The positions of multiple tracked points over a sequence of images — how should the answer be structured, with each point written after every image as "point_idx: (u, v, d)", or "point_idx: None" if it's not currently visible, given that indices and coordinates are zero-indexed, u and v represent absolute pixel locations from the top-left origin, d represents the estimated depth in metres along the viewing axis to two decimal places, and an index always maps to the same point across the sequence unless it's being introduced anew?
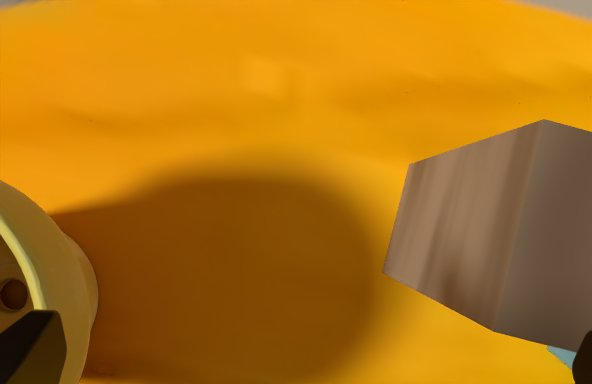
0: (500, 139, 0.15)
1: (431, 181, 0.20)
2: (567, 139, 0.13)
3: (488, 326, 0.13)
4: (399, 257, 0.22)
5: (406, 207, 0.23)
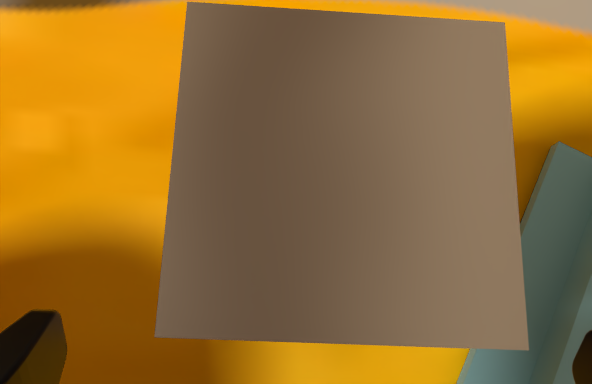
0: None
1: None
2: (229, 23, 0.08)
3: None
4: None
5: None
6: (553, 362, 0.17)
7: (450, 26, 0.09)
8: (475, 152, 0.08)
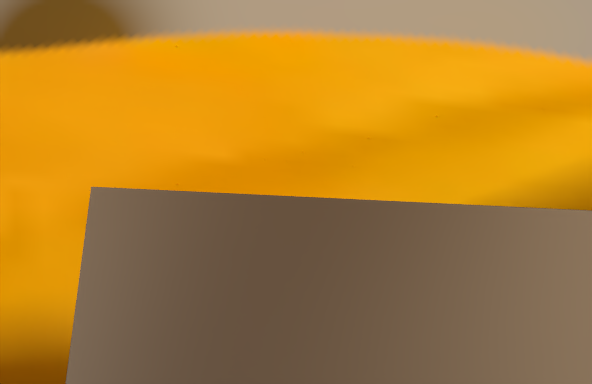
0: None
1: None
2: (174, 230, 0.04)
3: None
4: None
5: None
6: None
7: None
8: None
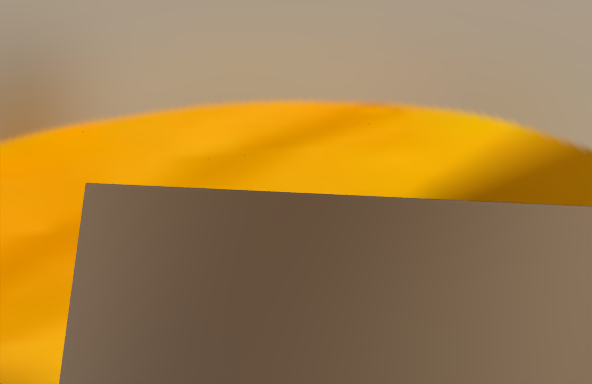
0: None
1: None
2: (168, 226, 0.04)
3: None
4: None
5: None
6: None
7: None
8: None
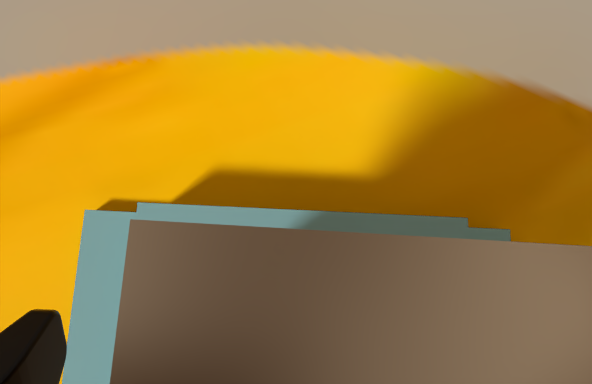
0: None
1: None
2: (192, 253, 0.06)
3: None
4: None
5: None
6: None
7: (526, 253, 0.06)
8: None
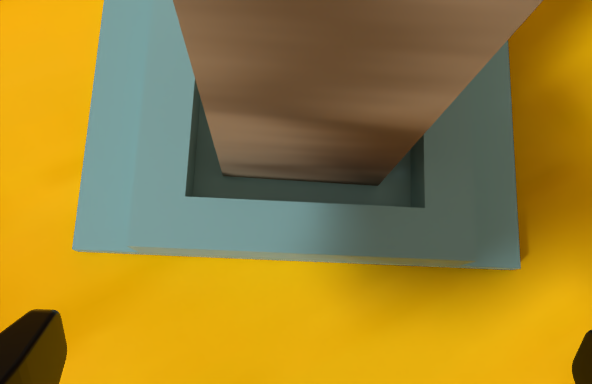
0: None
1: None
2: None
3: None
4: None
5: None
6: None
7: None
8: None
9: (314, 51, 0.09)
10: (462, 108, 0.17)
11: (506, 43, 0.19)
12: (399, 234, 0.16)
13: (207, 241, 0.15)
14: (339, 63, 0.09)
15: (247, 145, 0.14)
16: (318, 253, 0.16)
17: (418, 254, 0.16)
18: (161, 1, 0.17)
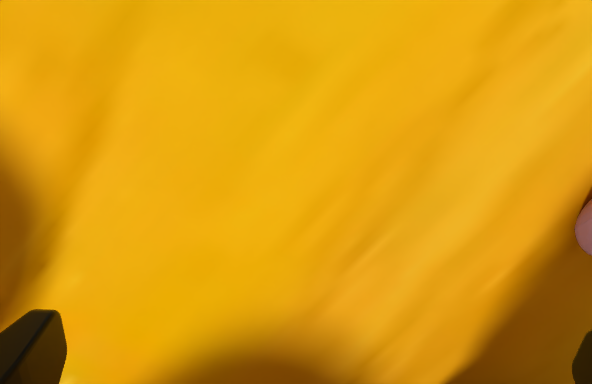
0: None
1: None
2: None
3: None
4: None
5: None
6: None
7: None
8: None
9: None
10: None
11: None
12: None
13: None
14: None
15: None
16: None
17: None
18: None
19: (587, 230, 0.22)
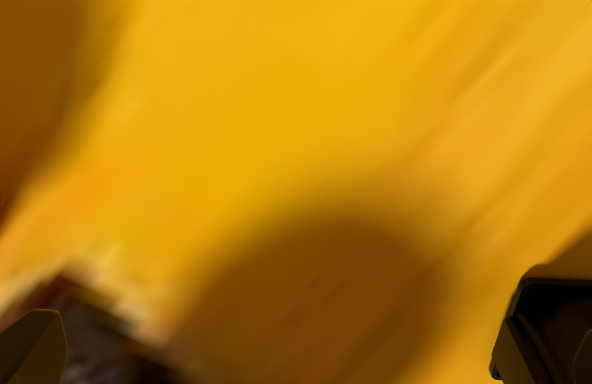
0: None
1: None
2: None
3: None
4: None
5: None
6: None
7: None
8: None
9: None
10: None
11: None
12: None
13: None
14: None
15: None
16: None
17: None
18: None
19: None
